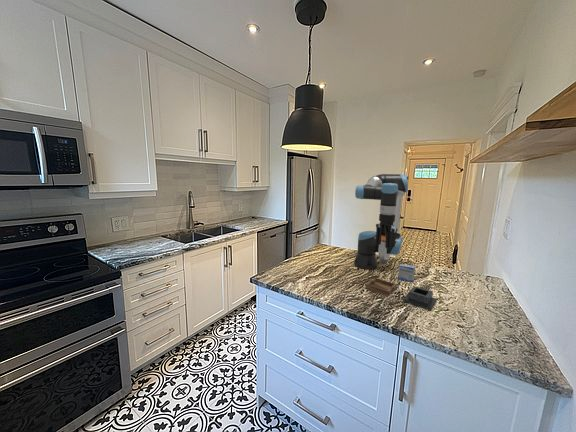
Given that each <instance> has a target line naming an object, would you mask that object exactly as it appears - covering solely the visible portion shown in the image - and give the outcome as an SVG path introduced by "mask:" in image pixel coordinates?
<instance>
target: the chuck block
mask: <svg viewBox="0 0 576 432" xmlns="http://www.w3.org/2000/svg"><path fill="white" fill-rule="evenodd" d="M433 294H434V291H432V290H429V289H427V288H422V287H418V286H415V285H413V286H412V288H411V289H410V290H409V291H408V293H407V294H406V295H405V296H404V298H403V299H402V302H404V303H405V304H409V305H412V306H415V307H418V308H421V309H424V310H427V311H430V312H431V311H432V310H433V308H434V306H435V305H436V303H437V301H438V298H436V297H433V296H434V295H433Z"/></svg>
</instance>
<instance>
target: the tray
mask: <svg viewBox="0 0 576 432" xmlns="http://www.w3.org/2000/svg"><path fill="white" fill-rule="evenodd" d="M397 286H398V284H397V283H394V282H391V281H388V280H385V279H381V278H377V277H374V278H373V279H371V280H370V281H368V282H367V283H366V284H365V290H367V291H371V292H373V293H377V294H379V295H382V296H385V297H390V295H392V294H393V293H394V291H396V289H397Z"/></svg>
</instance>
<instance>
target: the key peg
mask: <svg viewBox="0 0 576 432" xmlns="http://www.w3.org/2000/svg"><path fill="white" fill-rule="evenodd" d="M385 247H386V235H381V245H380V257H379V259H378V264H380V265H382V266H383V265H384V266H386V265H388V260H389V259H387V260H384V254H385Z"/></svg>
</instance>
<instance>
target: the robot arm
mask: <svg viewBox="0 0 576 432" xmlns="http://www.w3.org/2000/svg"><path fill="white" fill-rule="evenodd" d="M408 187H409V186H408V176H407V175H406V174H402V173H399V174H398V173H391V174H390V173H381V174H376V175H374V176H372V177H370V178H368V180H367V182H366V183H365V184H364V185H357V186H356V187H355V193H354V194H355V198H356V199H359V200H372V201H373V200H376V201H380V204H379V218H378V221H379V223H376V224H375V228H376V231H373V230H367V231H366V230H365V231H362V232H359V233H358V239H357V251H356V252H357V253H356V255H355V258H354V260H353V265H354V267H356V268H358V269H361V270H362V269H363V270H368V271H369V270H375V269H377V268H378V266H379V265H378V264H379V262H378V260H377V257H380V245H381V235H386V247H385V254H384V260H387V259H388V260H390V256H391V255H392V256H397V255H399V254H400V251H401V247H402V244H403V237H402V235H401V233H400V230H399V229H400V219H401V213H402V212H401V210H402V200H403V197H404V196H405V195H406V193H408V192H409V191H408ZM377 253H378V254H377ZM376 254H377V257H376ZM388 260H387V261H388Z"/></svg>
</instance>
